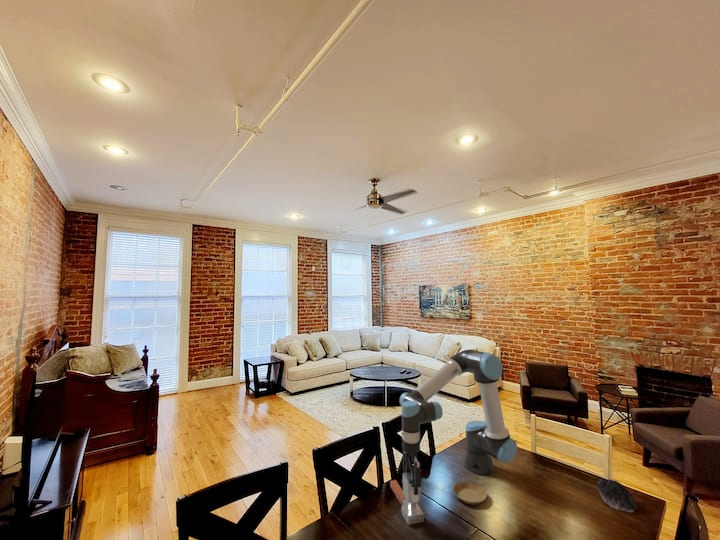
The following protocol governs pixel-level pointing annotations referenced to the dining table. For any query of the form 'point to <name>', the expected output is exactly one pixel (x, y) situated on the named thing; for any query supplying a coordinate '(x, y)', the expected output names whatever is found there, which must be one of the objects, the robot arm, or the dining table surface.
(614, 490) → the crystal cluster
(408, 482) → the white upright block
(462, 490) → the plant saucer
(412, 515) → the mallet
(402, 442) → the robot arm
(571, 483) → the dining table surface
